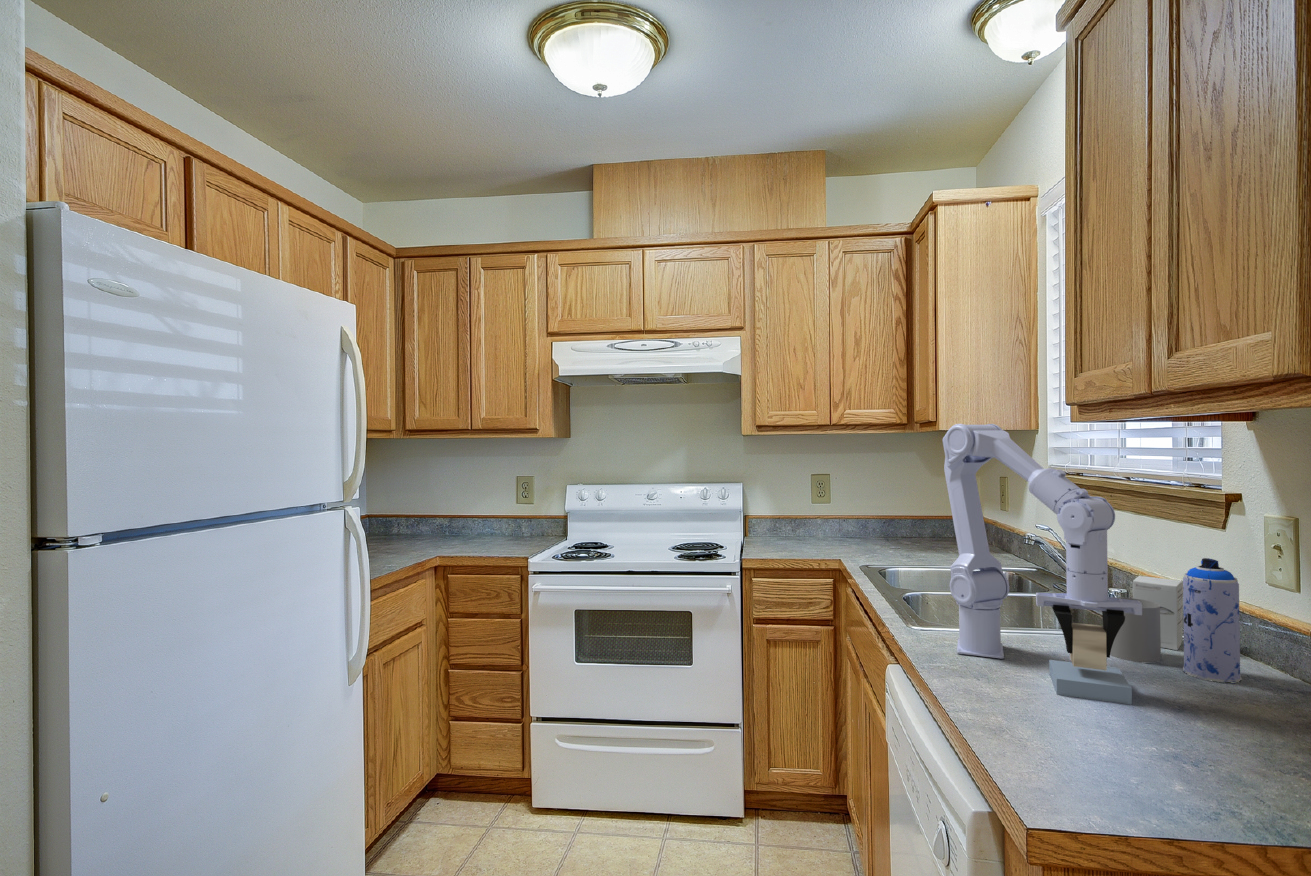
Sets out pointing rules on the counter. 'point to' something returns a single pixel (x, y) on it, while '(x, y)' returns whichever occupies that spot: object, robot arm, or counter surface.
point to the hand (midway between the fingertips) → (1087, 653)
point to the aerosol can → (1211, 623)
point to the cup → (1139, 635)
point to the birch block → (1089, 646)
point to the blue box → (1090, 682)
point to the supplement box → (1164, 606)
